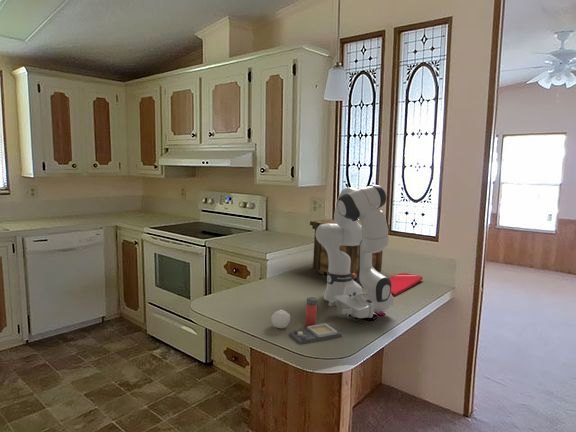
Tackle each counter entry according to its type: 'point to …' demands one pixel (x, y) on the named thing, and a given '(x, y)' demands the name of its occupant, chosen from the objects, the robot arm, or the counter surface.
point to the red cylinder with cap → (311, 311)
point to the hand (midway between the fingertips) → (335, 308)
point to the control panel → (314, 333)
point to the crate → (353, 251)
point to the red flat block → (403, 282)
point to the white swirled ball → (280, 319)
